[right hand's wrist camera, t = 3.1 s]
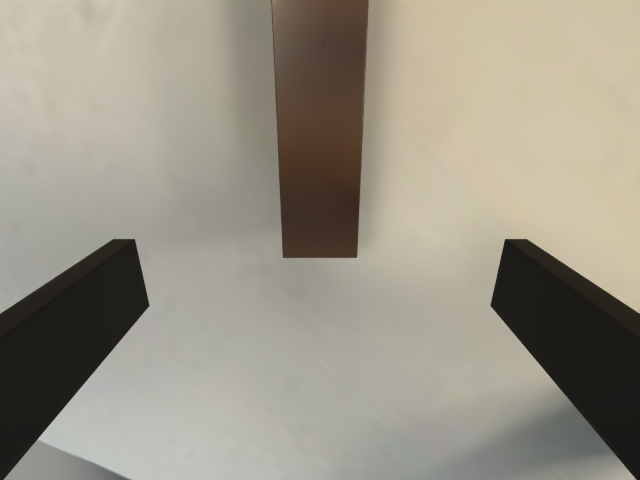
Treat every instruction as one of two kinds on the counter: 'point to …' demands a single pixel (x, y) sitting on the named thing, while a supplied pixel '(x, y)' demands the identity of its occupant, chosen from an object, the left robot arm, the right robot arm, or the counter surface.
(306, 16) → the plank
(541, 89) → the counter surface
